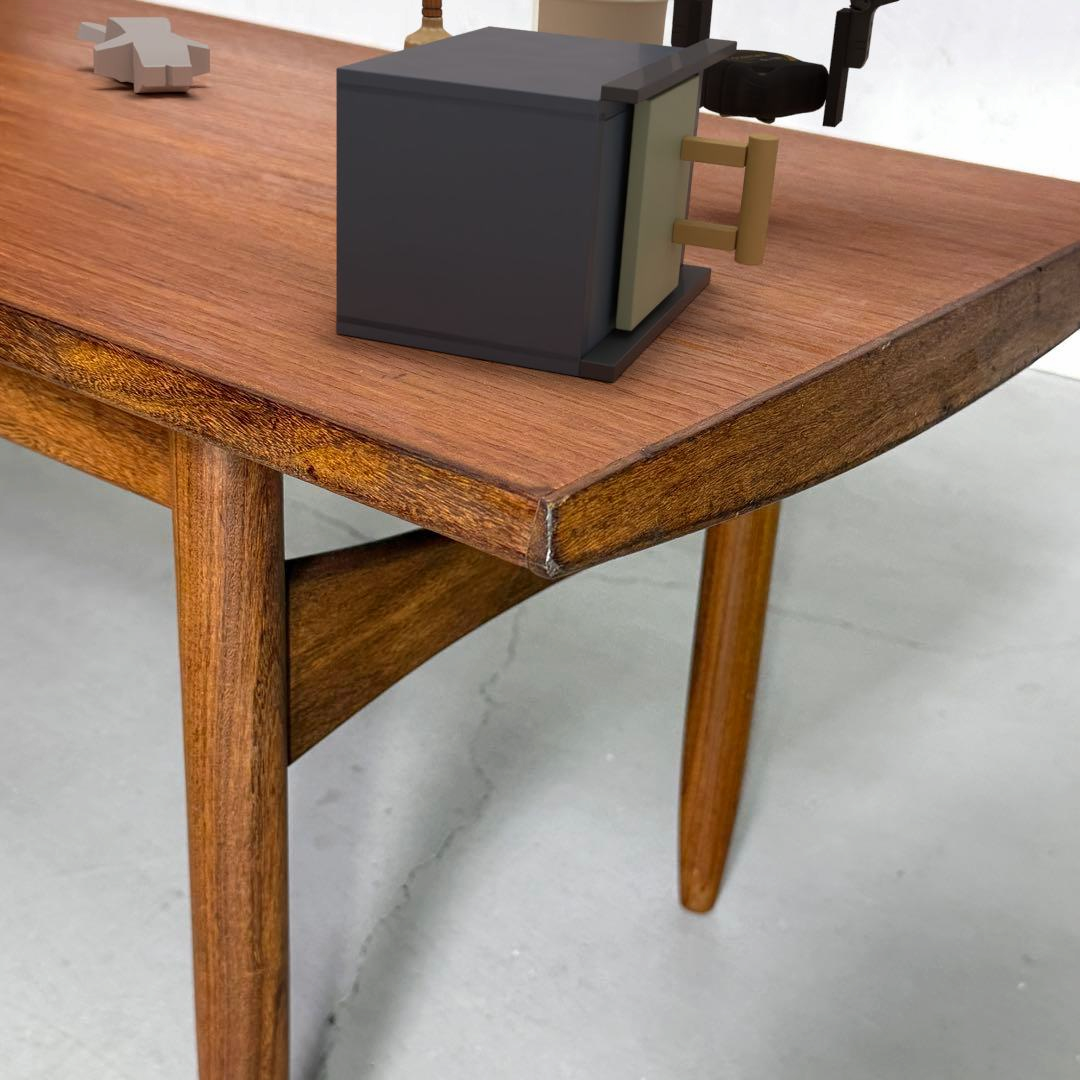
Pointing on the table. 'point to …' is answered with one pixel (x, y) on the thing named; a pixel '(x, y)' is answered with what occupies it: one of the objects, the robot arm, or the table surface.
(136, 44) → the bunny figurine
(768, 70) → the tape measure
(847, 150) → the table surface
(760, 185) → the door
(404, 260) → the cabinet
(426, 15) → the hand bell
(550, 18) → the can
